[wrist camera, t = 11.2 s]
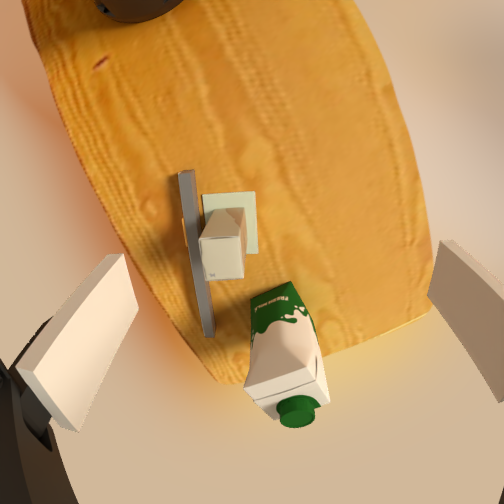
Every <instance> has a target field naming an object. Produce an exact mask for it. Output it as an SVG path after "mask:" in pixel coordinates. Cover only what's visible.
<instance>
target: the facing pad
mask: <svg viewBox="0 0 504 504" xmlns="http://www.w3.org/2000/svg"><path fill="white" fill-rule="evenodd" d="M202 197H203V206H204V214H205V223H206V224H207V222H208V221H209V219H210V217H211V215H212V213H213V211H214V210H215V209H222V208H237V207H244V208H245V216H246V226H247V239H248V241H247V249H246V254H258V236H257V219H256V201H255V191H246V192H229V193H215V194H202Z"/></svg>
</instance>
